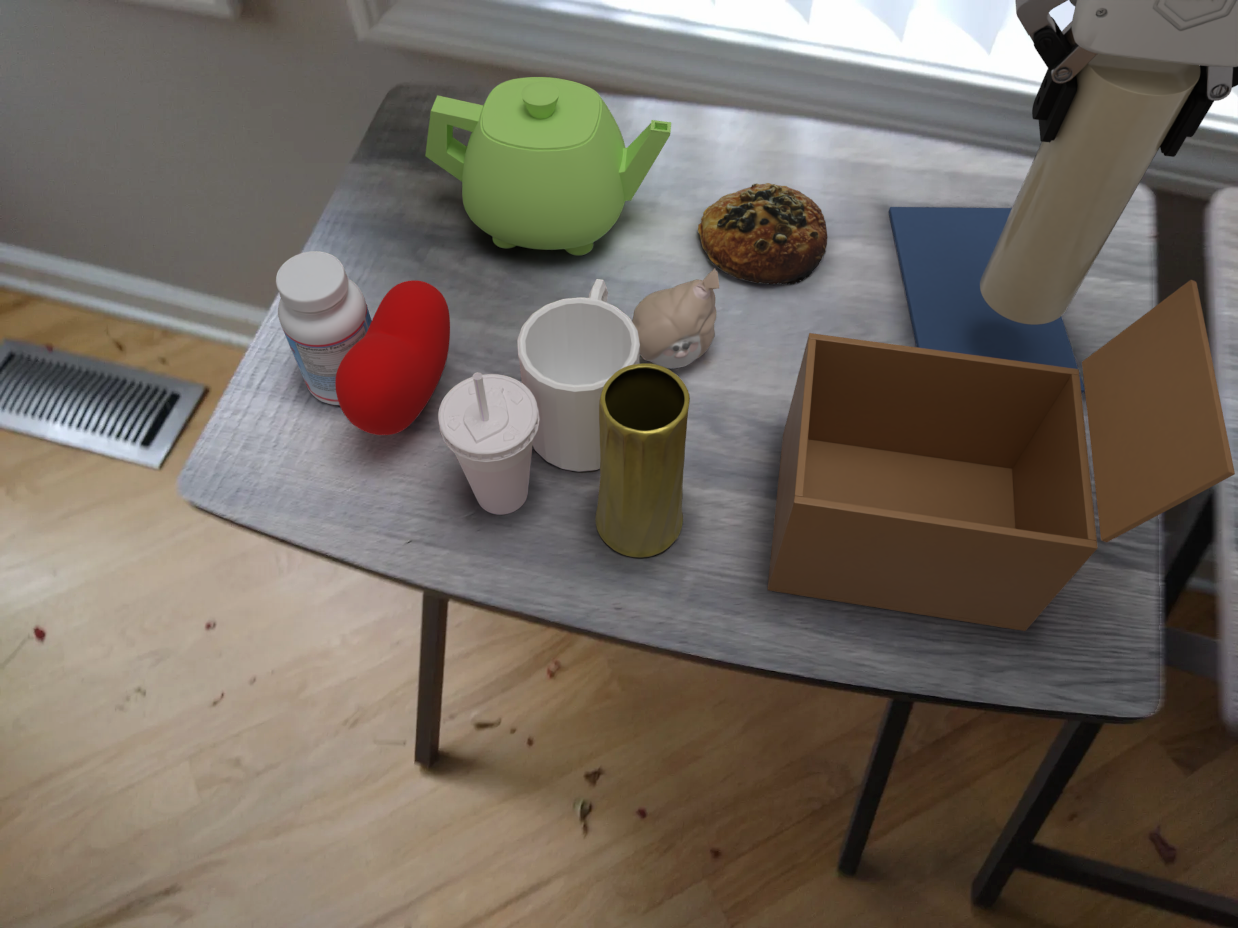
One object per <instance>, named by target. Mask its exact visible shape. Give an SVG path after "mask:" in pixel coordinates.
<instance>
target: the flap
mask: <svg viewBox="0 0 1238 928" xmlns="http://www.w3.org/2000/svg"><path fill="white" fill-rule="evenodd" d="M1198 288H1199V287H1198V283H1197V281H1195V280H1193V279H1189V280H1188V281H1187V282H1186V283H1184V284H1183V285H1182V286H1180V287H1179V288H1178V289H1176V290H1175V291H1174V292H1172V293H1171V294H1169V295H1168V296H1167V297H1166V298H1164V299H1163V300H1162V301H1160V302H1159V303H1157V305H1155V306H1154V307H1153V308H1151V309H1150V310H1148V311H1147V312H1146V313H1145V314H1143V315H1142V316H1141V317H1139V318H1138V319H1137V320H1135V321H1134V322H1132V323H1131V324H1130V325H1129V326H1127V327H1126V328H1125V329H1123V330H1122V331H1121V332H1119V333H1118V334H1116V335H1115V336H1114V337H1113V338H1112V339H1110V340H1109V341H1107V342H1106V343H1104V344H1103V345H1102V346H1101V347H1100V348H1097V350H1095V351H1094V352H1093V353H1091V354H1090V355H1089V356H1087V357H1086V358H1085V359H1083V360H1082V361H1081V367H1082V377H1083V378H1082V379H1083V386H1084V389H1085V391H1084V395H1085V406H1086V413H1087V423H1088V432H1089V442H1090V451H1091V460H1092V469H1093V479H1094V487H1095V497H1096V505H1097V515H1098V524H1099V526H1098V527H1099V534H1100V540H1101V541H1102V542H1104V543H1109V542H1110V541H1113V540H1114V539H1116V538H1118V537H1120V536H1122V535H1124V534H1126V533H1127V532H1129V531H1131V530H1133V529H1135V528H1137V527H1139V526H1141V525H1143V524H1144V523H1146V522H1148V521H1151V520H1152V519H1154V518H1156V517H1158V516H1160V515H1161V514H1163V513H1165V512H1167V511H1169V510H1171V509H1173V508H1175V507H1176V506H1178V505H1180V504H1182V503H1184V502H1186V501H1188V500H1190V499H1191V498H1193V497H1195V496H1197V495H1199V494H1200V493H1203V492H1204V491H1206V490H1208V489H1210V488H1212V487H1215V486H1216V485H1218V484H1220V483H1221V482H1224V481H1225V480H1228V479H1229V478H1231V477H1233V476H1234V475H1236V471H1235V467H1234V462H1233V458H1232V452H1231V446H1230V443H1229V438H1228V437H1229V436H1228V432H1227V427H1226V422H1225V417H1224V413H1223V412H1224V411H1223V407H1222V402H1221V398H1220V397H1221V396H1220V393H1219V387H1218V381H1217V378H1216V373H1215V368H1214V362H1213V357H1212V352H1211V348H1210V343H1209V338H1208V333H1207V332H1208V331H1207V327H1206V323H1205V318H1204V313H1203V309H1202V304H1201V303H1202V302H1201V299H1200V293H1199V289H1198Z"/></svg>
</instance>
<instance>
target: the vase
mask: <svg viewBox="0 0 1238 928" xmlns="http://www.w3.org/2000/svg"><path fill="white" fill-rule="evenodd" d="M690 402H691V397H690V392H689V389H688V388H687V386H686V384H685V382H684V381H683V379H682V378H681V377H680V376H678V374H676V373H675V372H673V371H672V370H670V368H665V367H663V366H659V365H656V364H654V363H650V362H648V363H646V362H645V363H639V364H635V365H629V366H626V367H624V368H622V369H620V370H618V371H617V372H615V373H614V374H613V375H612V376H611V377H610V378H609V379H608V381H607V382H606V383H605V385H604V387H603V390H602V392H601V396H600V401H599V427H600V469H599V472H600V473H599V486H598V496H597V507H596V511H595V517H594V518H595V519H594V521H595V527H596V530H597V532H598V534H599V537H600V538H601V540H602V541H603V542H604V543H605V544H606V545H607V546H608V547H610V548H611V549H612V550H614V552H616V553H619V554H621V555H623V556H627V557H630V558H648V557H653V556H655V555H659V554H662V553H663V552H664V551H666V550H667V549H668V548H669V547H670V546H672V545H673V544H674V543H675V541H677V540H678V538H679V536H680V534H681V532H682V528H683V523H684V515H683V514H684V513H683V509H682V508H683V507H682V506H683V495H684V494H683V493H684V492H683V491H684V490H683V487H684V486H683V484H684V483H683V482H684V470H685V469H684V468H685V458H686V457H685V456H686V454H685V453H686V441H687V430H688V417H689V410H690V409H689V408H690Z"/></svg>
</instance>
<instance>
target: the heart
mask: <svg viewBox="0 0 1238 928" xmlns="http://www.w3.org/2000/svg"><path fill="white" fill-rule="evenodd" d="M371 320H372V322H371V324H370V326H369V329H368V331H367V333H366V335H365V336H364V338H362V339H361V340H360V341H359V342H357V343H356V344H355V345H354V346H353V347H352V348H351V349H350V350H349V351H348V353H347V354H346V355H345V356H344V358H343V360H342V361H341V363H340V365H339V367H338V370H337V373H336V380H335V386H336V394H337V399H338V402H339V405H338V406H339V407H340V410H341V411H342V413H343V415H344V416H345V417H346V419H347V420H348V421H349V422H350V424H352V425H353V426H354V427H355V428H357V429H359V430H361V431H362V432H365V433H367V434H370V435H375V436H391V435H396V434H399V433H401V432H402V431H404V430H405V429H407V428H408V427H409V426H411V424H412V423H413V422H414V421H415V420H416V419H417V418H418V416H419V415H420V414H421V413H422V412H423V410H424V408H425V407H426V406H427V404H428V403H429V402H430V399H431V398H432V396H433V394H434V392H435V390H436V388H437V386H438V384H439V381H440V380H441V377H442V374H443V372H444V369H445V366H446V364H447V359H448V355H449V349H450V341H451V338H450V337H451V316H450V311H449V306H448V303H447V300H446V298H445V297H444V295H443V294H442V292H441V291H440V290H439V289H438V288H437V287H435V286H434V285H432V284H431V283H429V282H426V281H423V280H417V279H415V280H405V281H402V282H399V283H397V284H396V285H394V286H393V287H392V288H391V289H389V291H387V293H386V294H385V295H384V296H383V298H382V299H381V301H380V303H379V305H378V307H377V309H376V311H375V313H374V315H373V318H371Z"/></svg>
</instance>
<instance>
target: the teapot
mask: <svg viewBox="0 0 1238 928" xmlns="http://www.w3.org/2000/svg"><path fill="white" fill-rule="evenodd" d="M454 128H457V129H462V130H465V131H468V132H471V133H470V135H469V137H468V138H469V139H468V142H467V145H465V144H464V143H462V142H461V141H459V140H458V139H456V138H455V137H454ZM671 131H672V122H671V121H666V120H665V121H663V120H656V119H651V121H650V123H649V124H648V125H647V126H646V127H645V128H644V129H643V130H642V132H641V133H639V134H638V136H637V137H635V139H633V141H632V142H631V143H630V144H629V145H628V146H627V147H626V143H625V139H624V137H623V134H622V131H621V129H620V127H619V125H618V123H617V120H616V119H615V117H614V116H613V113H612V112H611V110H610V109H609V106H608V105H607V103H606V102H605V101H604V100H603V98H602V96H601V95H600V94H599V93H598V92H597V91H596V90H595V89H594V88H591V87H590V86H587V85H585V84H583V83H580V82H576V81H573V80H568V79H564V78H559V77H557V78H556V77H549V76H531V77H530V76H529V77H519V78H513V79H509V80H505V81H503V82H501V83H499V84H498V85H496V86H495V87H494V88H492V90H491V91H490V92H489V94H488V96H487V98H486V99H485V102H484V104H478V103H474V102H469V101H464V100H461V99H460V100H459V99H456V98H451V97H447V96H441V95H438V94H437V95H436V98H435V100H434V102H433V105H432V107H431V109H430V114H429V122H428V130H427V138H426V144H425V145H426V147H425V155H424V156H425V158H427V159H428V160H430V161H431V162H433V163H434V164H435V165H437V166H439V167H440V168H441V169H443V170H444V171H446V172H447V173H449V174H450V175H452V176H453V177H454V178H456V179H457V180H458V181H460V182H461V191H462V192H461V197H462V204H463V208H464V210H465V212H466V214H467V216H468V218H469V219H470V220H471V221H472V222H473V224H474V225H475V226H477V227H478V228H479V229H481V230H482V231H483V232H484V233H486V234H487V235H489V236H491V237H492V242H493V244H494V245H495V246H497V247H499V248H502V249H512V248H515V247H522V248H526V249H533V250H545V251H547V250H551V251H553V250H565V251H566V252H567V253H568V254H570V255H573V256H583V255H587V254H589V253H590V252H591V251H592V250H593V249H594V242H596V241H598V240H600V239H601V238H602V237H603V236H604V235H606V234H607V233H608V232H610V230H611V229H612V228H613V226H614V225H615V224H616V223H617V222H618V220H619V218H620V217H621V214H622V211H623V209H624V206H625V203H626V202H630V201H632V200H633V198H634V196H635V195H636V193H637V192H638V190H639V188H640V187H641V185H642V183H643V182H644V180H645V178H646V177H647V175H648V173H649V171H650V170H651V168H652V167H653V165H654V163H655V161H656V160H657V158H658V156H659V155H660V154H661V152H662V150H663V149H664V147H665V144H666V143H667V142H668V140H669V138H670V136H671V133H672V132H671Z"/></svg>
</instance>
